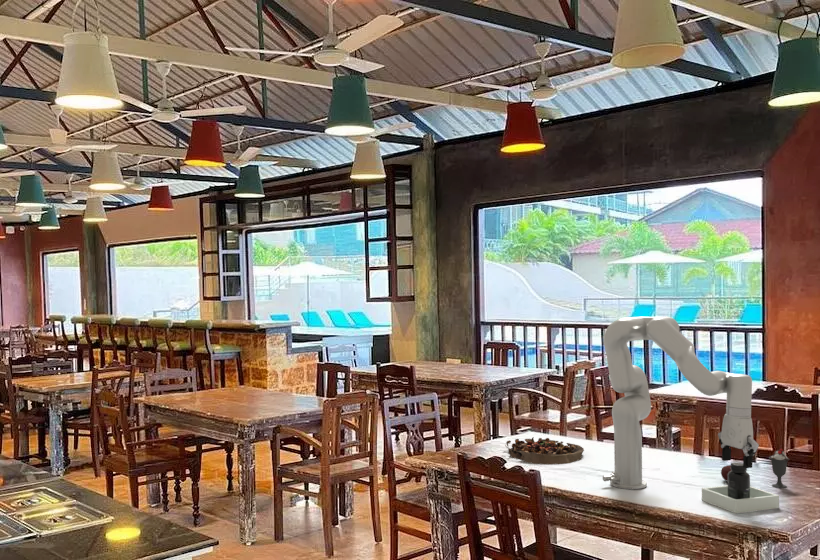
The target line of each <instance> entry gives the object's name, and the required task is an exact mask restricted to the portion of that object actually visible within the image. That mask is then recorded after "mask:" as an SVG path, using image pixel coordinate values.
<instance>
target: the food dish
mask: <svg viewBox="0 0 820 560" xmlns="http://www.w3.org/2000/svg"><path fill="white" fill-rule="evenodd" d="M511 442H512V440H509V439H508V440H507V441H505V444H504V446H505V448H506V449H508V455H509V457H511V458H513V459H517V460H521V461H523V462H524V463H530V464H534V465H537V464H538V465H541V464H542V465H565V464H570V463H573V462H578V461H580V460H582V457H583V456H582V455H583V453H584V451H585V449H584V447H583V446H581V445H579V444H575V443H570V442H566V443H565V444H566V445H565V444H563V443H564V441H560V442H559V440H554V439H553V440H551V439H550V438H549V437H546V438H544V439H542V437H539V438H538V440H537V441H535V440H534V436H533V437H532V438H524V440H520V439H519V438H515V439H514V442H515V443H514V442H513V443H512V444H511ZM509 444H511V447H509Z"/></svg>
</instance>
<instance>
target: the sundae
mask: <svg viewBox="0 0 820 560" xmlns="http://www.w3.org/2000/svg"><path fill="white" fill-rule="evenodd" d="M782 446H783V445H780V447H778V448H779V449H777V450H775V451H774V454H772V455H770V456H769V457H768V459H769V460H770V462H771V468H772V469H771V470H772V472H773V474H774V475H775V476H776V477H777V481H776V483H774V484H771V486H772V488H776V489H787V488H788V486H787V485H785V484H783V482H782V478H783V476H784V475H786V473H787V472H786V471H787V466H788V461H790V458H789V457H788V456H787V455H786V453H785V452H784V450H783V448H781V447H782Z"/></svg>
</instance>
